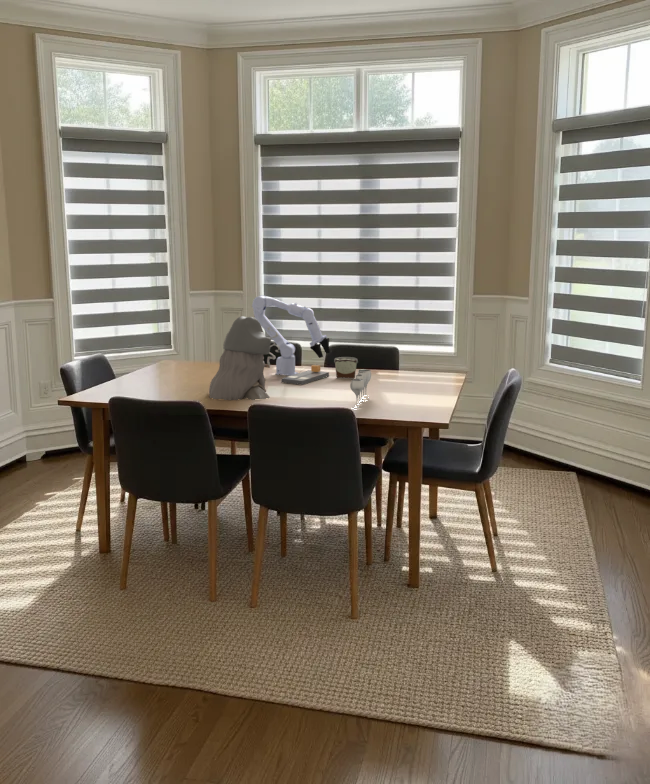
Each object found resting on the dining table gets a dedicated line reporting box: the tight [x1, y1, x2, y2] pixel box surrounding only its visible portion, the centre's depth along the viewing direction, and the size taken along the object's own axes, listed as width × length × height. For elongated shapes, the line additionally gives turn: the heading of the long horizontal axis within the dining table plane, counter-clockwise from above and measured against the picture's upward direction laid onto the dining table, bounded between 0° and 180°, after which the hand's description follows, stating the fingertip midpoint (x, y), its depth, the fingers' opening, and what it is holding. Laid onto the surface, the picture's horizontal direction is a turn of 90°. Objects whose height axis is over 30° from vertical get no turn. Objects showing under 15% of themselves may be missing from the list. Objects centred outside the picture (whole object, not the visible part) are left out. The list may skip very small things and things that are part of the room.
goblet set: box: [349, 368, 372, 410], centre depth 317 cm, size 28×6×13 cm, turn 168°
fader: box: [310, 364, 321, 372], centre depth 377 cm, size 4×2×3 cm, turn 60°
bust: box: [208, 315, 281, 401], centre depth 333 cm, size 34×34×35 cm
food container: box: [333, 356, 359, 379], centre depth 374 cm, size 12×6×10 cm, turn 84°
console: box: [281, 369, 330, 386], centre depth 369 cm, size 12×26×2 cm, turn 150°
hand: (324, 355), depth 378 cm, fingers open, 7 cm apart
